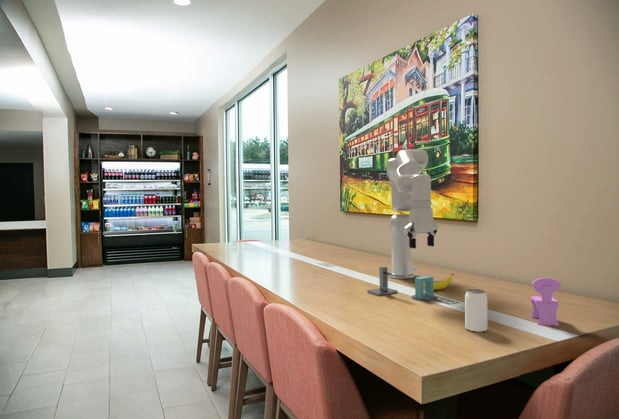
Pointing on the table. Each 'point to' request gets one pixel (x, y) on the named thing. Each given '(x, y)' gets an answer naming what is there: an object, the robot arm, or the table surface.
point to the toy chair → (545, 301)
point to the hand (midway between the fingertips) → (421, 247)
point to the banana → (441, 283)
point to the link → (428, 287)
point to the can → (476, 310)
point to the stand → (384, 283)
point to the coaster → (425, 298)
